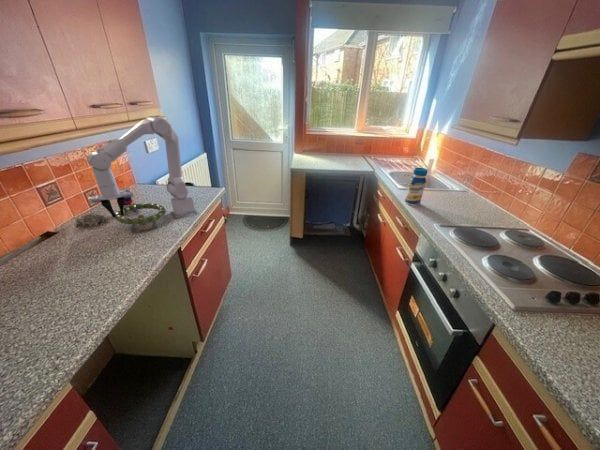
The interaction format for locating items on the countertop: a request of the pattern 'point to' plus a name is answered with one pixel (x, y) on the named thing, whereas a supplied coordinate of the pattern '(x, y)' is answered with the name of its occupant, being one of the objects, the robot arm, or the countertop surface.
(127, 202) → the energy drink
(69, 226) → the countertop surface
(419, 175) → the beverage bottle
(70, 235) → the countertop surface
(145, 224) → the ring stand
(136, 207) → the ring
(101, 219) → the egg carton
